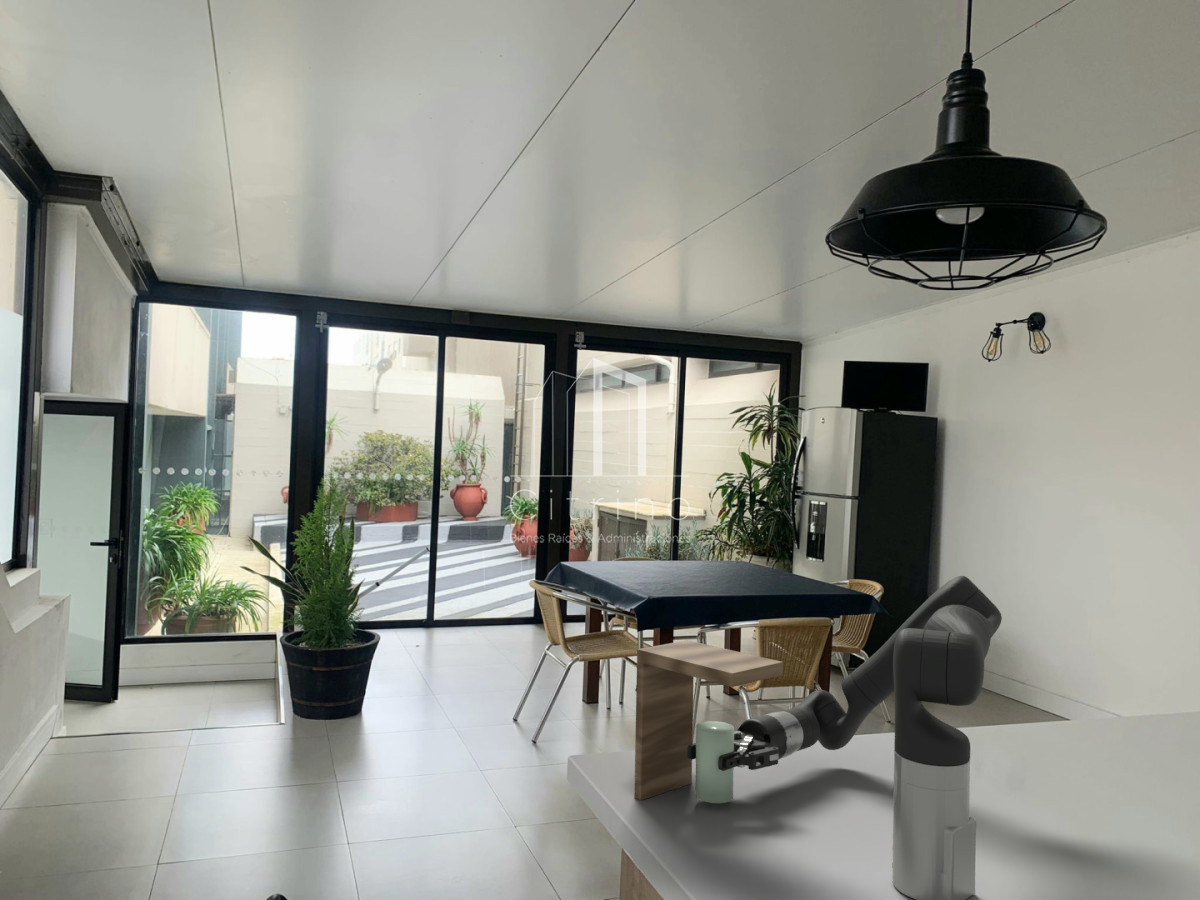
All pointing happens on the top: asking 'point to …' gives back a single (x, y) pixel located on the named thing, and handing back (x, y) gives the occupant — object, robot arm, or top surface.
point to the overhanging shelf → (680, 705)
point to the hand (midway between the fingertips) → (704, 758)
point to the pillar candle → (713, 762)
